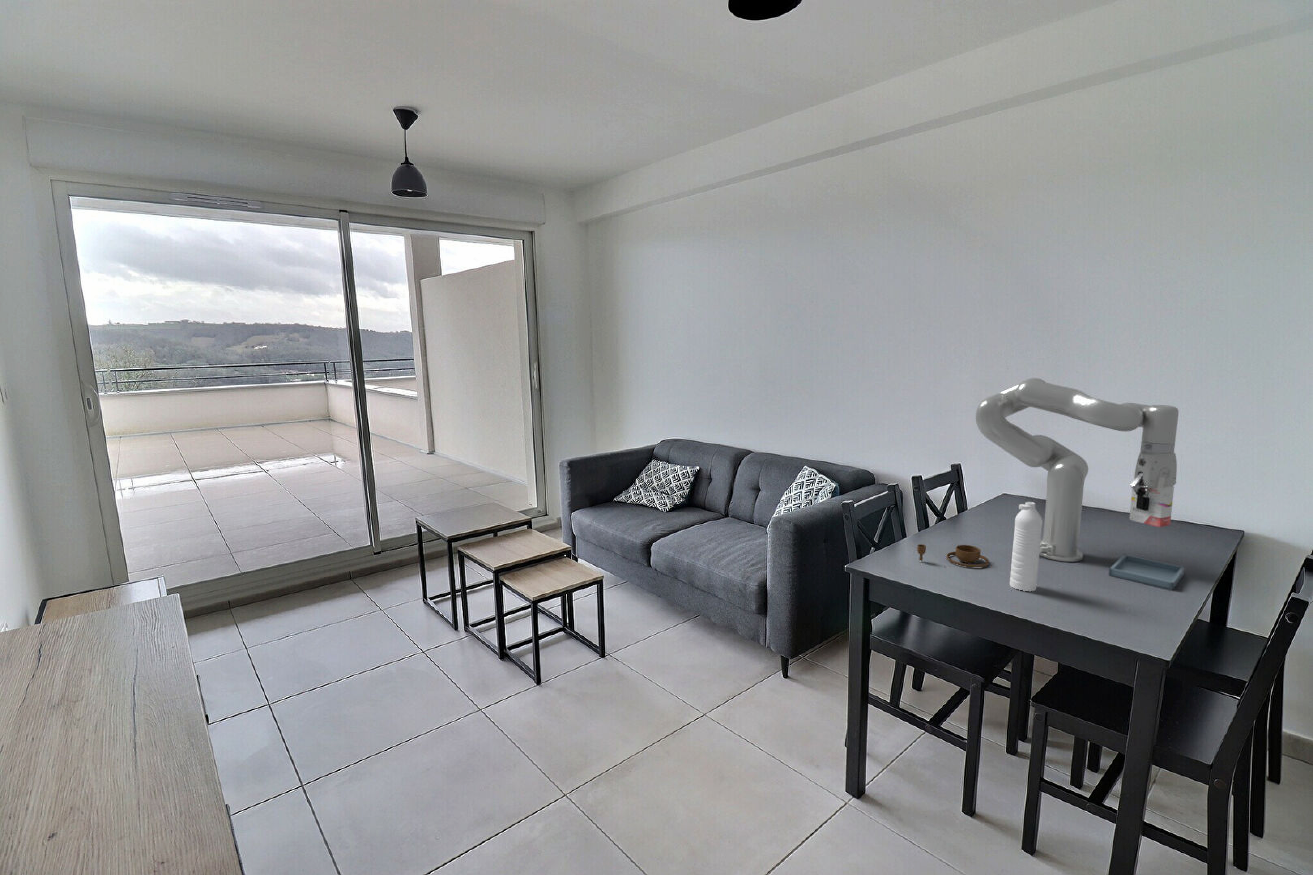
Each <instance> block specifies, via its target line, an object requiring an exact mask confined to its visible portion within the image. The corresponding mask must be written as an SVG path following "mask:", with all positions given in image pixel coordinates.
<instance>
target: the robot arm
mask: <svg viewBox="0 0 1313 875" xmlns="http://www.w3.org/2000/svg"><path fill="white" fill-rule="evenodd" d="M1028 408H1034V409H1037V410H1042V411H1045V412H1048V413H1049V412H1050V413H1053V414H1057V415H1061V416H1065V417H1068V418H1071V419H1075V420H1078V421H1081V422H1084V423H1087V424H1090V425H1094V426H1097V427H1101V428H1105V429H1110V430H1114V431H1118V432H1125V433H1126V432H1131V431H1134V430H1135V431H1136V429H1138V428H1142V435H1141V442H1140V452H1139V455H1138V458H1137V460H1136V464H1135V470H1134V478H1133V481H1131V484H1130V487H1131V489H1132V488H1133V490H1134V491H1135V492H1136V495H1137V503H1136V508H1137V509H1141V510H1145V511H1148V508H1149V497H1148V495H1149V492H1150V489H1151V488H1157V487H1158V481H1159V477H1163V478H1165V481H1164V486H1174V487H1175V485H1176V484H1177V467H1178V465H1177V456H1176V455H1177V454H1176V452H1175V447H1176V439H1177V438H1176V437H1177V431H1178V430H1177V429H1178V422H1179V421H1178V420H1179V409H1178V407H1176V406H1174V405H1172V406H1171V405H1165V404H1154V405H1153V404H1151V405H1150V404H1149V405H1148V404H1143V403H1142V404H1141V403H1134V402H1123V403H1120V404H1119V403H1116V402H1111V401H1106V400H1102V399H1100V398H1097V397H1093V396H1091V395H1089V394H1087V393H1086V392H1084V391H1082V390H1078V389H1075V388H1072V387H1068V386H1063V385H1059V384H1053V383H1050V382H1046V381H1045V380H1043V379H1041V378H1038V377H1032V378H1031V377H1030V378H1028V379H1025V380H1023V381H1021V382H1020V383H1017V384H1015V385H1014V386H1011V387H1009V388H1007V389H1005V390H1002V391H1000V392H998V393H996V394H993V395H990V396H988V397H986V398H984V399H983V400H982V401H980V402H979V404H978V406H977V408H976V411H975V412H976V413H975V422H976V426H977V429H978V430H979V432H980V434H982V435H983V436H984V437H985V438H986V439H987V440H988V441H990V442H992V443H993V444H994V445H996V446H998V447H999V448H1001V449H1002V450H1003V451H1005V452H1006V453H1008V454H1009V455H1011V456H1013V457H1014V458H1015V459H1017V460H1019V461H1020V462H1022V464H1024V465H1026V466H1027V467H1031V468H1043V469H1044V470H1046V471H1047V478H1046V497H1045V499H1046V500H1045V510H1044V523H1043V529H1042V530H1043V532H1042V538H1041V540H1040V541H1041V542H1040V553H1039V556H1041V557H1043V558H1046V559H1050V560H1054V561H1059V562H1068V563H1069V562H1079V561H1082V560H1083V558H1084V557H1083V556H1084V554H1083V552H1080V551H1079V550H1078V546H1079V539H1080V538H1079V537H1080V528H1081V518H1082V510H1083V509H1082V508H1083V507H1082V506H1083V501H1084V500H1083V498H1084V484H1085V480H1086V479H1087V478H1086V477H1087V476H1088V474H1089V466H1088V463H1087V461H1086V460H1085V458H1083V457H1082V456H1081V455H1079V454H1078V453H1076V452H1074V451H1073V450H1071V449H1069V448H1067V447H1066V446H1065V445H1063V444H1061V443H1059V442H1057V441H1056V440H1054V439H1053V438H1051V437H1049V436H1046V435H1042V434H1036V435H1035V434H1034V435H1032V434H1030V433H1029V432H1027V431H1025V430H1023V429H1022V428H1020V426H1018V425H1015V424H1013V423H1011V422H1010V421H1008V420H1007V417H1009V416H1012V415H1014V414H1016V413H1018V412H1022V411H1024V410H1026V409H1028ZM1143 484H1144V485H1145V486H1143ZM1143 488H1146V489H1145V491H1143Z"/></svg>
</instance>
